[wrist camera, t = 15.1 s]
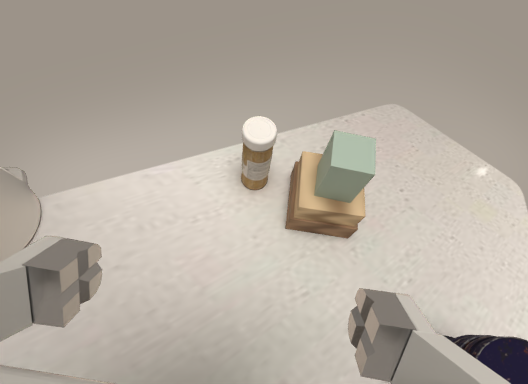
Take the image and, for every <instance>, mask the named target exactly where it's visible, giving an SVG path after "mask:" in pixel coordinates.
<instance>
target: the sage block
mask: <svg viewBox="0 0 528 384" xmlns="http://www.w3.org/2000/svg"><path fill="white" fill-rule="evenodd" d="M375 159H376V139H375V138H370V137H365V136H360V135H355V134H350V133H345V132H340V131H335V130H334V132H333V135H332V137H331V139H330V141H329V143H328V145H327V147H326V149H325V151H324V153H323V155H322V158H321V160H320V162H319V164H318V169H317V177H316V185H315V193H314V196H318V197H323V198H328V199H333V200H337V201H342V202H347V203H351V202H352V201H353V199H354V198H355V197H356V196H357V195H358V194H359V193H360V191H361V190H362V189H363V188H364V187H365V186H366V185H367V183H368V182H369V181H370V180H371V179H372V178H373V177H374V176H375Z"/></svg>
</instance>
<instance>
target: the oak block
mask: <svg viewBox="0 0 528 384" xmlns="http://www.w3.org/2000/svg"><path fill="white" fill-rule="evenodd" d="M322 155H323V154H317V153H310V152H304V151H303V152H302V155H301V158H300V161H299V163H298V168H297V181H296V194H295V206H294V218H298V219H305V220H312V221H319V222H326V223H333V224H340V225H347V226H354V227H355V226H356V225H357V224H358V223H359V222H360V221H361V220H362V219H363V218H364V217H365V197H364V188H363V189H362V190H361V191H360V193H359V194H358V195H357V196H356V197H355V198H354V199H353V201H352V202H351V203H347V202H342V201H337V200H333V199H328V198H323V197H318V196H314V193H315V185H316V177H317V169H318V164H319V162H320V160H321V158H322Z"/></svg>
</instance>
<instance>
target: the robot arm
mask: <svg viewBox="0 0 528 384" xmlns="http://www.w3.org/2000/svg"><path fill="white" fill-rule="evenodd" d="M40 215H41V208H40V203H39V200H38V198H37V196H36V195H35V193H34V192H33V191H32V190H31V189H30V188H29V186H28V183H27V176H26V173H25V172H24V171H23V170H21V169H19V168H13V167H12V168H11V167H10V168H2V167H0V342H1V341H2V340H4V339H6V338H8V337H10V336H12V335H14V334H16V333H18V332H20V331H22V330H24V329H25V328H27V327H29V326H31V325H32V323H34V324H42V325H49V326H56V327H65V326H66V325H67V324H68V323H69V322H70V321H71V319H72V318H73V317H74V316H75V315H76V314H77V313H78V312H79V311H80V304H81V303H84V302H86V301H88V300H90V299H91V298H92V297H93V296H94V295H95V294H96V292H97V290H98V288H99V286H100V284H101V279H102V269H101V267H100V266H99V265H98V263H97V262H98V261H99V259H100V258H101V257H102V254H101V247H100V246H99V245H98V244H94V243H89V242H84V241H78V240H73V239H68V238H63V237H56V236H45V237H43V238H41V239H40V240H38V241H36V242H34V243H33V244H31V245H29V246H28V247H26V248H24V247H25V246H26V245H27V244H28V243H29V241H30V240H31V239H32V237H33V235H34V234H35V232H36V230H37V227H38V224H39V221H40ZM355 301H356V304H357V306H356V307H355V308H354V309H352V310H351V313H350V316H349V321H348V333H349V338H350V342H351V344H352V345H353V346H354V347H355V348H356V349H357V350H356V353H355V359H356V362H357V365H358V368H359V372H360V375H361V376H362V377H367V378H373V379H378V380H383V381H388V382H391V384H511V383H509V382H508V381H506V380H505V379H504V378H502V377H501V376H499V375H498V374H497V373H495V372H494V371H492V370H491V369H490V368H488V367H487V366H485V365H484V364H482V363H481V362H480V361H478V360H477V359H475V358H474V357H473V356H471V355H470V354H468V353H467V352H466V351H464V350H463V349H461V348H460V347H459V346H457V345H456V344H454V343H453V342H451V341H450V340H449V339H447V338H446V337H444V336H443V335H439V334H437V333H436V332H435V331H434V329H433V328H432V326H431V325H430V323H429V322H428V320H427V319H426V317H425V316H424V314H423V313H422V311H421V310H420V308H419V307H418V306H417V304H416V303H415V301H414V300H413V298H412V297H411V296H409V295H408V294H400V293H391V292H384V291H377V290H370V289H363V288H359V290H358V291H357V293H356V296H355ZM0 384H114V383H108V382H102V381H96V380H89V379H83V378H77V377H71V376H65V375H59V374H53V373H47V372H40V371H34V370H28V369H22V368H16V367H10V366H4V365H0Z"/></svg>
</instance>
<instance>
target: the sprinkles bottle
mask: <svg viewBox="0 0 528 384" xmlns="http://www.w3.org/2000/svg"><path fill="white" fill-rule="evenodd" d="M276 136H277V129H276V126H275V124H274V123H273V122H272V121H271V120H270V119H268V118H266V117H262V116H256V117H252V118H250V119H248V120H247V121H246V122H245V123H244V125H243V128H242V140H243V153H242V175H241V179H242V182H243V184H244V185H245V186H246V187H247V188H249V189H253V190H257V189H261V188H263V187H264V186H265V185H266V183H267V180H268V172H269V168H270V163H271V158H272V150H273V145H274V144H275V141H276Z"/></svg>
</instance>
